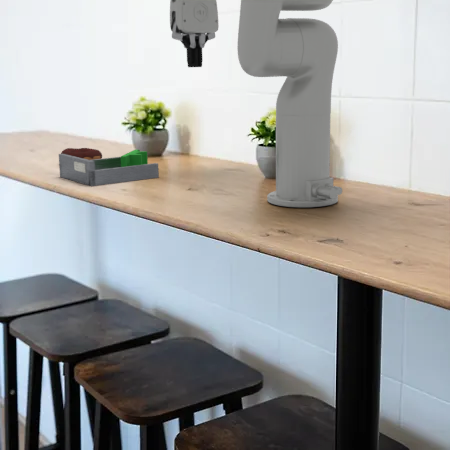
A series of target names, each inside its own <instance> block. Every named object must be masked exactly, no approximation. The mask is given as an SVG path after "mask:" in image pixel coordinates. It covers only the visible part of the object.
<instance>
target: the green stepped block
mask: <svg viewBox="0 0 450 450" xmlns="http://www.w3.org/2000/svg"><path fill="white" fill-rule="evenodd" d="M140 150H141V149H133V150H131V151H128V152H127V153H125V154H123V155H120V157H121V167H126V166H135V165H143V164H149V162H148V161H149V160H148V151H144V150H143V151H140Z"/></svg>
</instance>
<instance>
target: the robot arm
mask: <svg viewBox="0 0 450 450" xmlns="http://www.w3.org/2000/svg"><path fill="white" fill-rule="evenodd" d="M169 1H170V4H169V26H170V27H169V28H170V30H171V32H172V33H171V39H173V40H177V41H180V42H181V44H182V45H183V47H184V49H185V50H186V63H187V67H188V68H202V67H203V49H204V48H205V45H206V43H207V42H208V41H211V40H214V39H215V38H216V32H218V30H219V12H218V4H217V3H218V2H217V0H169ZM333 1H334V0H240V7H239V8H240V9H239V21H238V33H237V58H238V62H239V65H240V67H241V69H242V71H244V73H246V74H247V75H249V76H252V77H254V78H255V77H256V78H271V77H272V78H273V77H275V78H277V77H279V78H280V77H286V78H285V80H284V82H283V84H282V86H281V88H280V90H279V92H278V93H277V94H278V95H277V97H276V102H275V190H274V191H271V192H269V193H268V194H267V196H266V199H267V202H268V203H270V204H271V205H276V206H280V207H288V208H321V207H326V206H332V205H334V204H336V203H338V201H339V196H340V195H341V194H343V188H342V186H337V185H334V177H331V176H330V175H331V174H330V172H331V170H330V167H331V165H330V164H331V113H332V112H331V111H332V89H333V87H332V86H333V80H334V79H333V78H334V73H335V66H336V62H337V58H338V51H339V50H338V49H339V41H338V37H337V33H336V31H335V30H334V28H333V27H332V26H331V24H328V23H327V22H325V21H323V20H320V19H316V18H306V17H305V18H304V17H303V18H299V17H298V18H295V17H294V18H293V17H289V18H287V17H286V18H279V17H280V14H281V11H283V12H285V11H287V12H289V11H291V12H296V11H297V12H299V11H300V12H307V11H308V12H311V11H312V12H313V11H319V10H324V9H326V8H328V7H329V6H330V5H331V4H332V3H333Z"/></svg>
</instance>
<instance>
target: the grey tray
mask: <svg viewBox="0 0 450 450" xmlns="http://www.w3.org/2000/svg"><path fill="white" fill-rule="evenodd" d="M58 164H59V178H63V179H67V180H69V181H73V182H75V183H79V184H83V185H86V186H89V187H90V186H91V187H95V186H96V187H97V186H103V185H109V184H117V183H126V182H135V181H141V180H149V179H157V178H159V163H158V162H153V163H148V164H143V165H135V166H126V167H121V156H112V157H107V158H105V157H104V158H103V157H102V159H94V160H87V159H83V158H79V157H75V156H70V155H66V154H61V153H58Z"/></svg>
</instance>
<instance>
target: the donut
mask: <svg viewBox="0 0 450 450" xmlns="http://www.w3.org/2000/svg"><path fill="white" fill-rule="evenodd" d="M60 152H61V153H60V154H66V155H70V156H75V157H79V158H83V159H87V160H94V159H103V154H102V152H101V151H100V150H99V149H96V148H89V147H80V148H72V147H69V148H65V149H63V150H62V151H60Z"/></svg>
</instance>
